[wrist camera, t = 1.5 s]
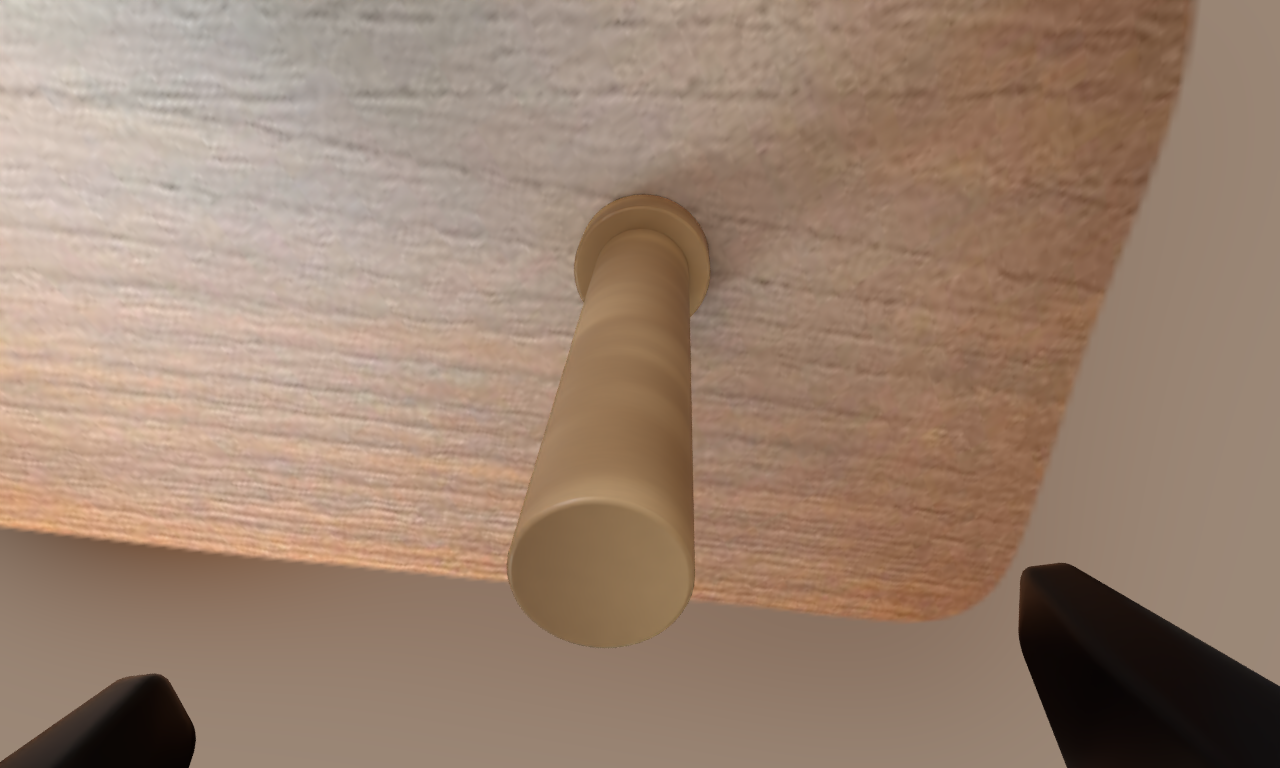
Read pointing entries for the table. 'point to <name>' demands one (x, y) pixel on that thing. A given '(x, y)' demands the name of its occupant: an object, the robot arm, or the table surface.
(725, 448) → the table surface
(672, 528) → the handle grip
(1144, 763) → the robot arm
